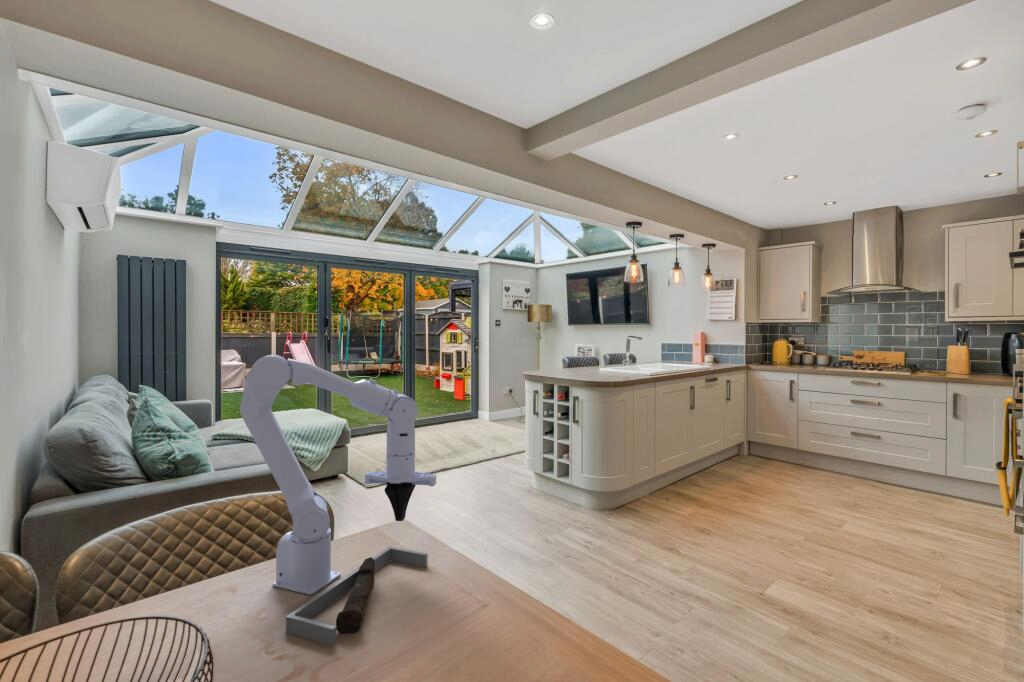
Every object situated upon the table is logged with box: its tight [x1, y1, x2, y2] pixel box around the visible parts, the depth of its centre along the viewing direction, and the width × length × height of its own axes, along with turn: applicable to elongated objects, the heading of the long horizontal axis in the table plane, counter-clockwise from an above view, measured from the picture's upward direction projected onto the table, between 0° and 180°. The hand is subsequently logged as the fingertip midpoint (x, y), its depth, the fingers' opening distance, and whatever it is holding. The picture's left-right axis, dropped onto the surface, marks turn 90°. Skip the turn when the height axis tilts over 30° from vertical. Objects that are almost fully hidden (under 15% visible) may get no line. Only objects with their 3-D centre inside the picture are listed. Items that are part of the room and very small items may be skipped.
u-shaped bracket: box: [285, 546, 429, 647], centre depth 86 cm, size 9×28×2 cm, turn 159°
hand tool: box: [335, 556, 376, 635], centre depth 84 cm, size 19×4×5 cm, turn 4°
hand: (400, 519), depth 97 cm, fingers closed
